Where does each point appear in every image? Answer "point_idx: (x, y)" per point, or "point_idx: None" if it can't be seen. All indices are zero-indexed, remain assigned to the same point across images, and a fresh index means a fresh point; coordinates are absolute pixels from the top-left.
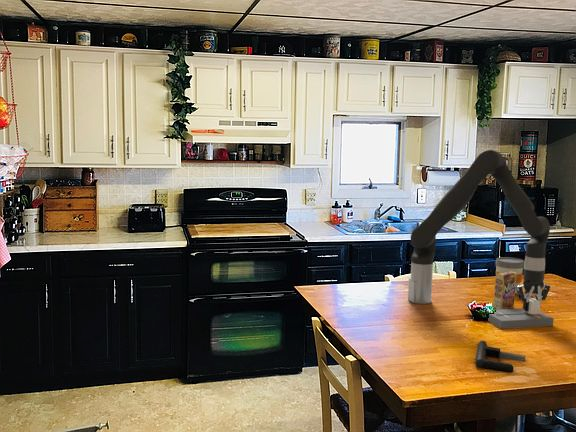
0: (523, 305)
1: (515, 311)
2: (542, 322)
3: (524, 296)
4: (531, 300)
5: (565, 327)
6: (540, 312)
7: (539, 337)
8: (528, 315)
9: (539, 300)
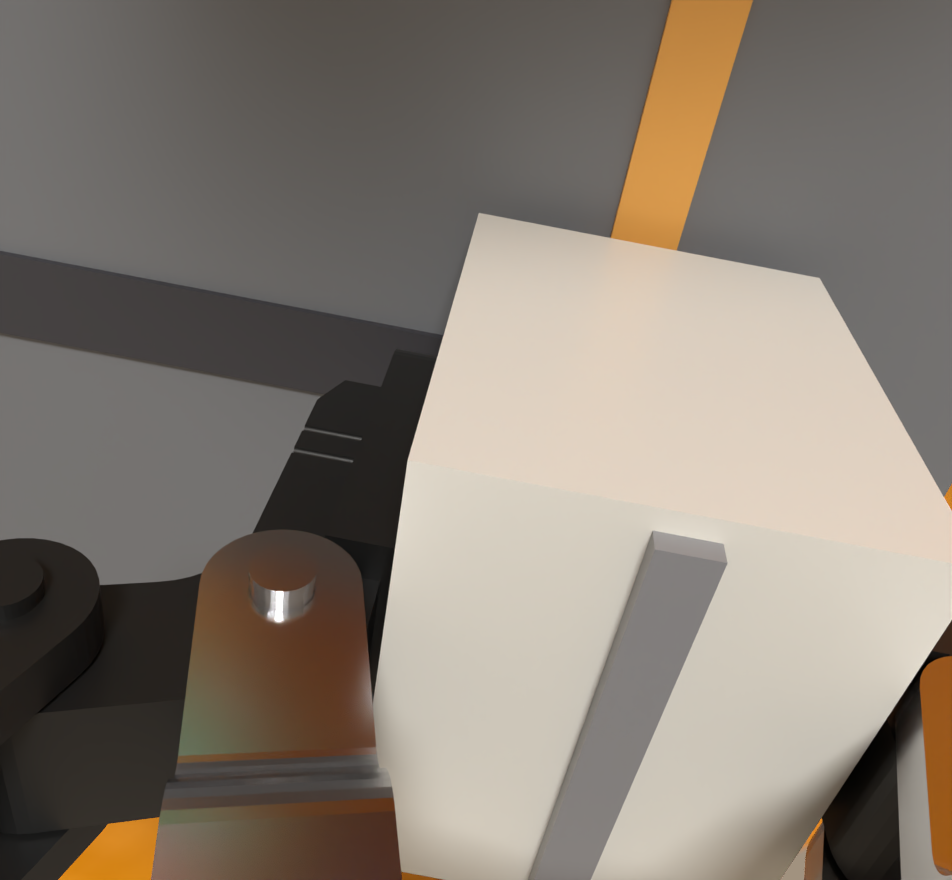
0: (289, 476)
1: (266, 69)
2: None
3: (201, 759)
4: (502, 779)
5: None
6: (949, 421)
7: (153, 837)
8: None
9: (837, 870)
